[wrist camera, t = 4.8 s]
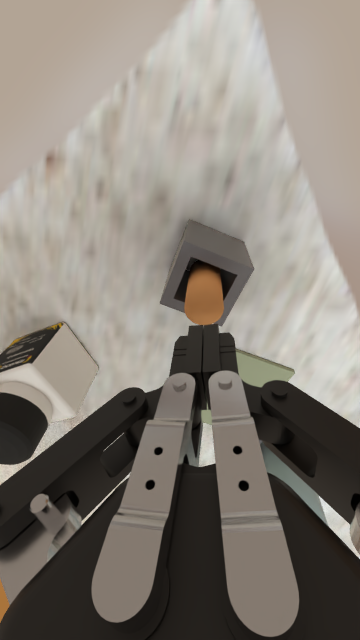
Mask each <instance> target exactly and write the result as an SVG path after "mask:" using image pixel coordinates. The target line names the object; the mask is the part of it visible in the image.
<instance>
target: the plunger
mask: <svg viewBox="0 0 360 640" xmlns="http://www.w3.org/2000/svg"><path fill="white" fill-rule="evenodd" d="M184 310H185V314H186V316H187V317H188V318H189V319H190V320H191V321H192V322H194V323H196V324H199V325H209V324H212V323H215V322H216V321H218V320H219V319H220V318H221V316H222V314H223V311H224V303H223V293H222V283H221V273H220V268H219V267H216V266H214V265H211V264H209V263H206V262H204V261H201V260H197V261H195V262H194V263H193V264H192V265H191V267H190V271H189V277H188V284H187V291H186V298H185V306H184Z"/></svg>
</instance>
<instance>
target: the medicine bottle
mask: <svg viewBox="0 0 360 640" xmlns="http://www.w3.org/2000/svg"><path fill="white" fill-rule="evenodd" d="M98 369H99V368H98V366H97V365H96V363H95V362H94V361H93V359H92V358H91V357H90V355H89V354H88V353H87V351H86V350H85V349H84V347H83V346H82V345H81V343H80V342H79V341H78V339H77V338H76V337H75V335H74V334H73V333H72V331H71V330H70V329H69V327H68V326H67V325H66V324H65V323H64V322H61V323H59V324H56V325H53V326H51V327H48V328H45V329H43V330H40V331H37V332H35V333H32V334H29V335H26V336H24V337H21V338H18V339H16V340H14V341H13V342H12V343H11V344H10V346H9V347H8V348H7V349H6V350H5V351H4V352H3V353H2V354H1V355H0V464H7V465H13V464H19V463H22V462H24V461H26V460H28V459H29V458H30V457H31V456H32V455H33V453H34V451H35V449H36V447H37V446H38V444H39V442H40V440H41V439H42V437H43V435H44V433H45V431H46V430H47V428H48V426H49V424H50V423H53V422H57V421H61V420H65V419H69V418H73V417H75V416H76V415H77V413H78V411H79V409H80V407H81V405H82V403H83V401H84V399H85V397H86V394H87V392H88V390H89V388H90V386H91V384H92V382H93V380H94V378H95V376H96V374H97V372H98Z"/></svg>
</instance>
